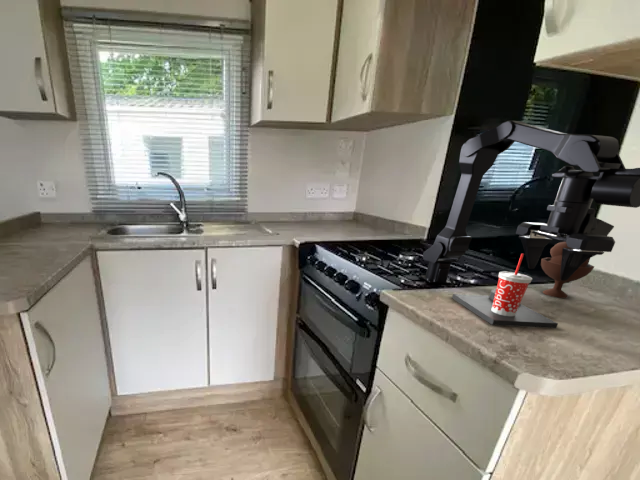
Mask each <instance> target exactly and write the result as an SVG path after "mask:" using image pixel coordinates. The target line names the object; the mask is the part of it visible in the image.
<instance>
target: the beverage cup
mask: <svg viewBox="0 0 640 480" xmlns="http://www.w3.org/2000/svg"><path fill="white" fill-rule="evenodd" d="M524 255H525V253H520V257H519V260H518V263H517V265H516V269H515V271H514V272H513V271H499V272H498V275H497V276H498V280H497V285H496V288H495V289H496V293H495V297H494V301H493V305H492V309H491V311H493V312H494V313H497V314H500V315H504V316H515V314H516V312H517V309H518V307H519V305H520V304H522V300H523V298H524V296H525V293H526V291H527V289H528V287H529V284H531V282H532V281H533V277H531V276H530V275H527V274H523V273H519V270H520V268H521V265H522V261H523V258H524Z"/></svg>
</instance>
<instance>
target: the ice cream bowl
mask: <svg viewBox="0 0 640 480" xmlns="http://www.w3.org/2000/svg"><path fill="white" fill-rule="evenodd" d="M563 248H570V247H568V246H567V244H566V241H560V242H558V243H555V244H554V246H552V247H551V248H550V251H549V253H550V256H551V257H543V258H541V260H540V266H541V269H542V271H543V272H544V273H545V275H547V276H548V278H550V279H552V280H554V285H553V287H552V288H548V289H544V290H543V291H542V293H543V294H544V295H546V296H549V297H553V298H559V299H567V298H568V297H569V296H568V294H567V293H566V292H564V291H563V290H562V288H563V286H564V284H565V283H568V282H570V283H571V282H574V281H575V282H576V281H577V280H580V279H582V278H584V277H587V276H588V275H589V274H590V273H592V271H593V270H594V268H595V266H594V265H592V264H590V260H591V258H589V259H587V260H586V261H585V262H584V263H583V264H582V265H581V266H580V267H579V268H578V269H577V270H576V271H575V272H574V273H573V274H572V275H571V276H570V277H569V279H568V280H566V281H562V280H560V270H561V261H562V252H563Z"/></svg>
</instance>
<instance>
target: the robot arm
mask: <svg viewBox="0 0 640 480" xmlns="http://www.w3.org/2000/svg"><path fill="white" fill-rule="evenodd" d="M515 143H519V144H523V145H525V146H530V147H533V148H536V149H540V150H543V151H546V152H549V153H551V154H553V155H554V156H555V158H557V159H558V160H560V161H562V162H563V163H565V164H567V165H565V166H563V167H562V168H561V169H559V170H557V171H555V172H554V173H552V174H551V178H557V179H561V183H560V185H559V188H558V191H557V194H556V197H555V200H554V203H553V204H552V205H551V204H548V205H547V207H546V211H550V214H549V217H548V220H547V223H545V222H529V221H528V222H527V221H523V222H521V223H520V224H518V225H517V228H516V231H515V234H516V235H519V236H518V239H520V242H521V244H522V248H523V251H524V255H525V259H526V264H527V268H528V269H530V270H534V269H535V268H536V266H537V265H538V263H539V260H540V258H541V256H542V253H543V251H544V248H545V247H546V246H547V245H548V244H550V243H551V242H552V241H553V240H558V241H561V242H566V244H567V246H568V247H570V248H563V252H562V261H561V270H560V280H562V281H566V280H568V279H569V277H570V276H571V275H572V274H573V273H574V272H575V271H576V270H577V269H578V268H579V267H580V266H581V265H582V264H583V263H584V262H585V261H586V260H587V259H589V258H590V259H591V258H594V257H595V256H602V255H604V254H605V253H612V251H613V249H614V247H615V244H616V241H615V239H614V237H613V236H609V234H610V233H611V232H612V230H613V229H614V228H615V226H614V225H613V224H610V223H608V222H607V221H604V220H602V219H600V218H597V217H595V214H596V208H591V206H592V203H593V201H594V203H595V204H597V205H601V206H611V207H612V206H613V207H625V208H634V209H636V208H640V167H634V168H626V166H625V164H624V162H623V160H622V158H621V156H620V153H619V150H620V149H619V148H620V145H619V140H618V139H617V138H615V137H614V136H607V135H597V134H596V135H595V134H582V133H566V132H562V131H558V130H554V129H549V128H545V127H540V126H536V125H534V124H533V125H532V124H529V123H526V122H524V121H519V120H507V121H504V122H502V123H501V124H499V125H497V126H496V127H494V128H491V129H489V130H486V131H484V132H481V133H480V134H478V135H476V136H475V137H470V138H468V140H467V141H466V142H464V143H463V144H462V146H461V149H460V152H459V153H460V154H459V161H458V165H459V168H460V173H461V176H460V179H459V182H458V185H457V188H456V192H455V195H454V197H453V201H452V205H451V209H450V211H449V215H448V219H447V222H446V225H445V227H444V228H442V230H441V231H440V232H439V233H438V234H437V235H436V237H435V240H434V242H433V244H432V246H430V247H429V248H428V249H425V251H423V252H422V260H423V261H426V262H428V265H427V269H426V273H425V275H423V274H421V275H420V278H422V280H424V281H426V282H428V284H429V283H430V284H443V285H444V284H445V285H446V284H447V285H451V284H452V281H450V280H448V278H449V273H450V270H451V269H450V268H451V265H452V263H458V262H459V260H460V259H461V257H463V256H465V254H466V252H469V246H470V243H471V241H472V236H469V235H468V233H467V227H468V223H469V220H470V217H471V214H472V211H473V208H474V205H475V202H476V198H477V195H478V192H479V189H480V186H481V184H482V180H483V178H484V175H486V173H487V172H488V171H489V170H490V169H491V168H492V167H493V165H494V164H495V162H496V160H497V157H498V156H499V155H500V154H503V153H504V152H505V151H507V150H509V149H510V148H511V146H513V144H515ZM574 167H579V168H580V169H575V168H574ZM594 173H599V175H598V176H596V175H594Z"/></svg>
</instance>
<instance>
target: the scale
mask: <svg viewBox="0 0 640 480" xmlns="http://www.w3.org/2000/svg"><path fill="white" fill-rule="evenodd" d="M496 289H497V288H494V289H491V290H490V292H489V295H485V294H467V293H466V294H465V293H464V294H463V293H452V296H451V299H453V300H454V301H456V302H457V303H459V304H460V305H462V306H463V307H465V308H466V309H467V310H469V311H471V312H472V313H473V314H475V315H477V316H478V317H479V318H481V319H482V320H483V321H486V322H487V323H488V324H490V325H492V326H505V327H521V328H522V327H524V328H540V329H541V328H542V329H543V328H544V329H557V328H558V324H559V322H557V321H554V320H552V319H550V318H548V317H546V316H545V315H542V314H541V313H539V312H537V311H535V310H533V309H531V308H529V307H528V306H525V305H524V304H522V303H520V305H519V307H518V309H517V312H516V314H515V316H504V315H500V314H497V313H494V312H493V311H491V309H492V305H493V301H494V297H495V293H496Z"/></svg>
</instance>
